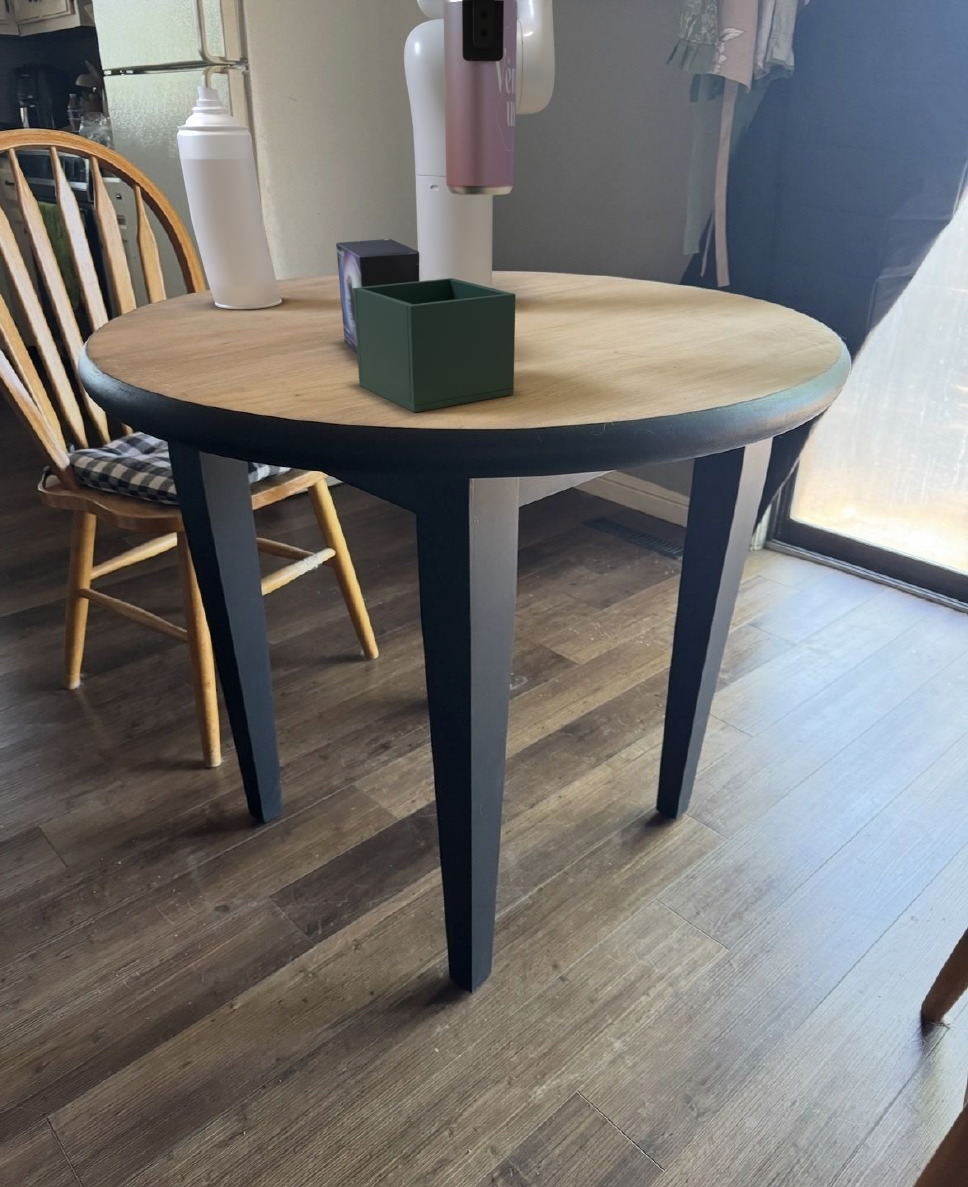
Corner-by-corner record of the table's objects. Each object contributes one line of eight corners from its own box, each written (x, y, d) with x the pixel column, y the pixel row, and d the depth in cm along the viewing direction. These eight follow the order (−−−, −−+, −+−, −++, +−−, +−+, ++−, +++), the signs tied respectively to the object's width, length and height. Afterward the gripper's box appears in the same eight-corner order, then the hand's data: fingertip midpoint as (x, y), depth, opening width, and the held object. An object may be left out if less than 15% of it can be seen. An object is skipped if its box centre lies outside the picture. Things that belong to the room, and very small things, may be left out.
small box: (340, 343, 96) (332, 240, 91) (397, 338, 98) (393, 238, 93) (363, 365, 87) (356, 253, 82) (425, 360, 89) (422, 250, 84)
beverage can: (475, 190, 81) (474, -6, 74) (527, 193, 77) (532, -12, 70) (432, 193, 77) (427, -14, 70) (485, 196, 73) (486, -21, 66)
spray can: (291, 310, 112) (269, 84, 100) (205, 316, 108) (172, 83, 96) (276, 295, 121) (253, 87, 109) (196, 300, 118) (164, 86, 106)
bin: (359, 385, 80) (352, 287, 76) (453, 370, 85) (451, 277, 81) (414, 412, 73) (410, 306, 69) (513, 394, 78) (515, 294, 74)
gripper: (425, -187, 71) (431, 70, 80) (431, -273, 56) (437, 55, 65) (516, -184, 72) (512, 70, 80) (547, -269, 57) (538, 56, 65)
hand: (479, 61), depth 72 cm, fingers closed on beverage can, 6 cm apart
